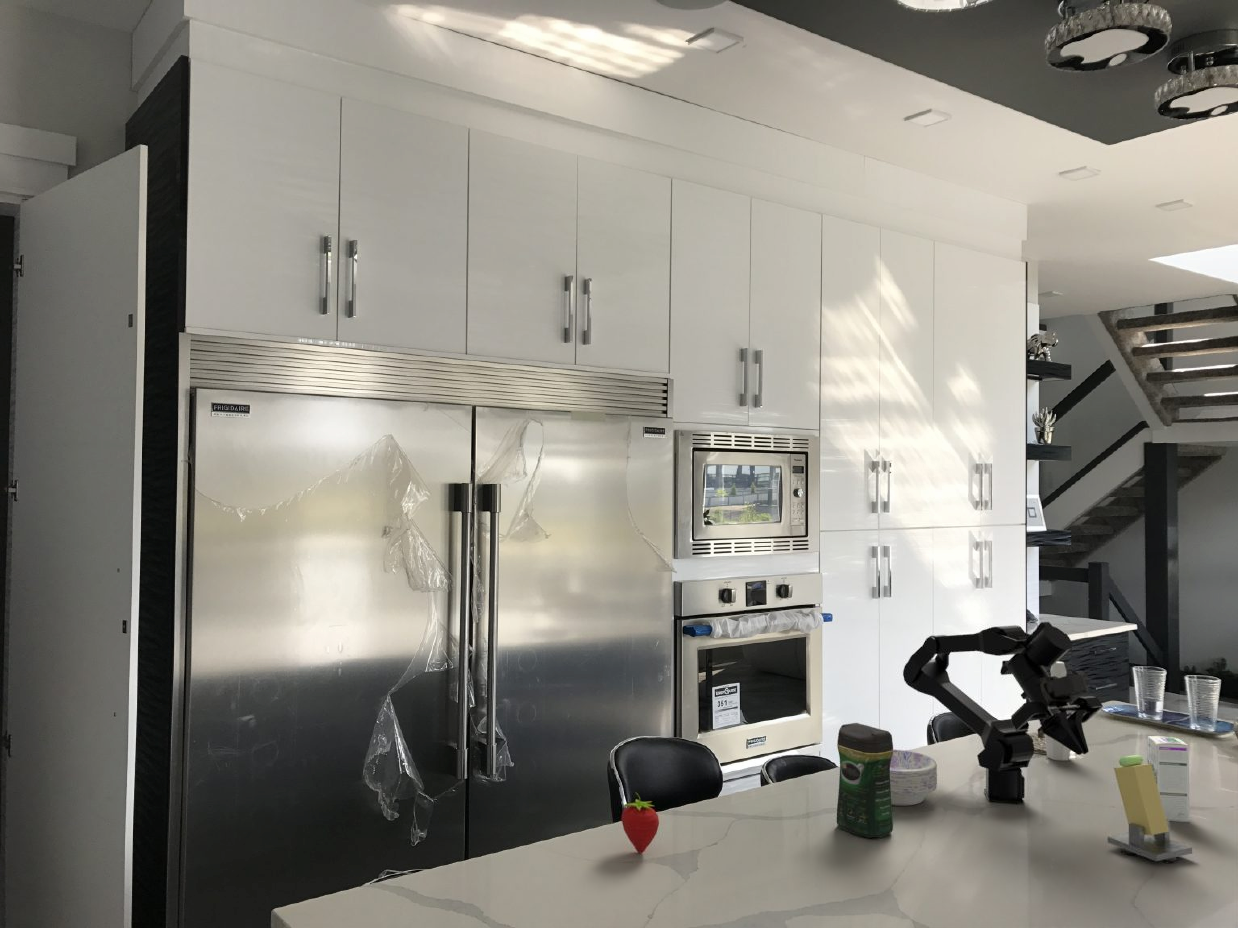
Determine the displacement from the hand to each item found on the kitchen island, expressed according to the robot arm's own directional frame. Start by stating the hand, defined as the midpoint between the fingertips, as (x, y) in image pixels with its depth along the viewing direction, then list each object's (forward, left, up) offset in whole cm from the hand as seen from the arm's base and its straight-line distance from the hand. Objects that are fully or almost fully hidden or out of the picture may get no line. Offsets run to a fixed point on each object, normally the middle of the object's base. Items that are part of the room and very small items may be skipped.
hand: (1083, 753), depth 174 cm
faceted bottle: (+7, +50, -14) cm, 52 cm away
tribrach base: (+8, -10, -14) cm, 19 cm away
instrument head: (+8, -10, -10) cm, 16 cm away
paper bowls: (-32, +9, -14) cm, 36 cm away
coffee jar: (-39, -11, -14) cm, 43 cm away
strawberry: (-76, -32, -14) cm, 84 cm away
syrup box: (+18, +12, -14) cm, 25 cm away
